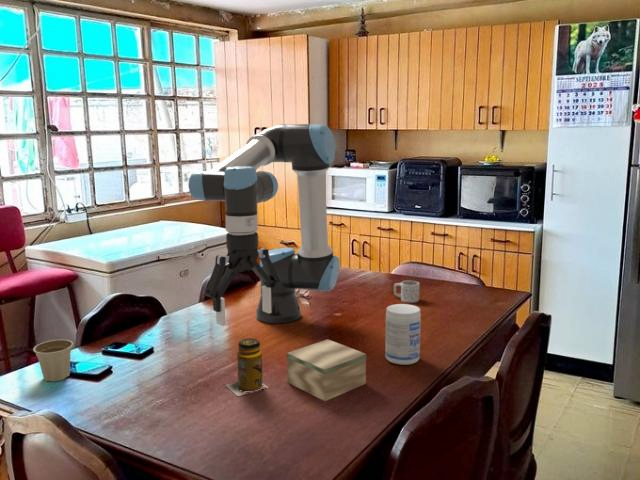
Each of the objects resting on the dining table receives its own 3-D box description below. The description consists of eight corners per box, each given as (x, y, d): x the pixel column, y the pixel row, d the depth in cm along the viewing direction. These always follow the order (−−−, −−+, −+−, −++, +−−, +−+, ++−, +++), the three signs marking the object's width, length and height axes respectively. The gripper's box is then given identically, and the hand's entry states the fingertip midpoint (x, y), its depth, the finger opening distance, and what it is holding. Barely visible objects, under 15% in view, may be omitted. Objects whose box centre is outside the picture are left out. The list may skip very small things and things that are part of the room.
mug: (421, 299, 220) (422, 282, 219) (414, 303, 215) (415, 286, 214) (397, 295, 226) (397, 278, 224) (389, 299, 220) (390, 282, 219)
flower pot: (51, 388, 148) (47, 355, 146) (29, 379, 153) (25, 348, 151) (83, 374, 156) (80, 343, 154) (61, 367, 161) (58, 337, 159)
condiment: (269, 388, 147) (267, 342, 145) (238, 397, 142) (236, 350, 140) (255, 378, 153) (254, 334, 151) (225, 386, 148) (223, 340, 146)
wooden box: (287, 382, 150) (286, 352, 148) (327, 367, 159) (327, 339, 158) (324, 401, 140) (324, 369, 138) (366, 383, 149) (366, 353, 148)
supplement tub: (416, 367, 159) (418, 315, 156) (381, 363, 161) (382, 312, 159) (421, 354, 168) (423, 304, 165) (388, 351, 170) (389, 302, 168)
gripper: (204, 241, 129) (208, 333, 133) (292, 227, 146) (293, 310, 150) (187, 236, 135) (191, 325, 139) (273, 224, 151) (275, 304, 155)
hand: (244, 318), depth 144 cm, fingers open, 13 cm apart
